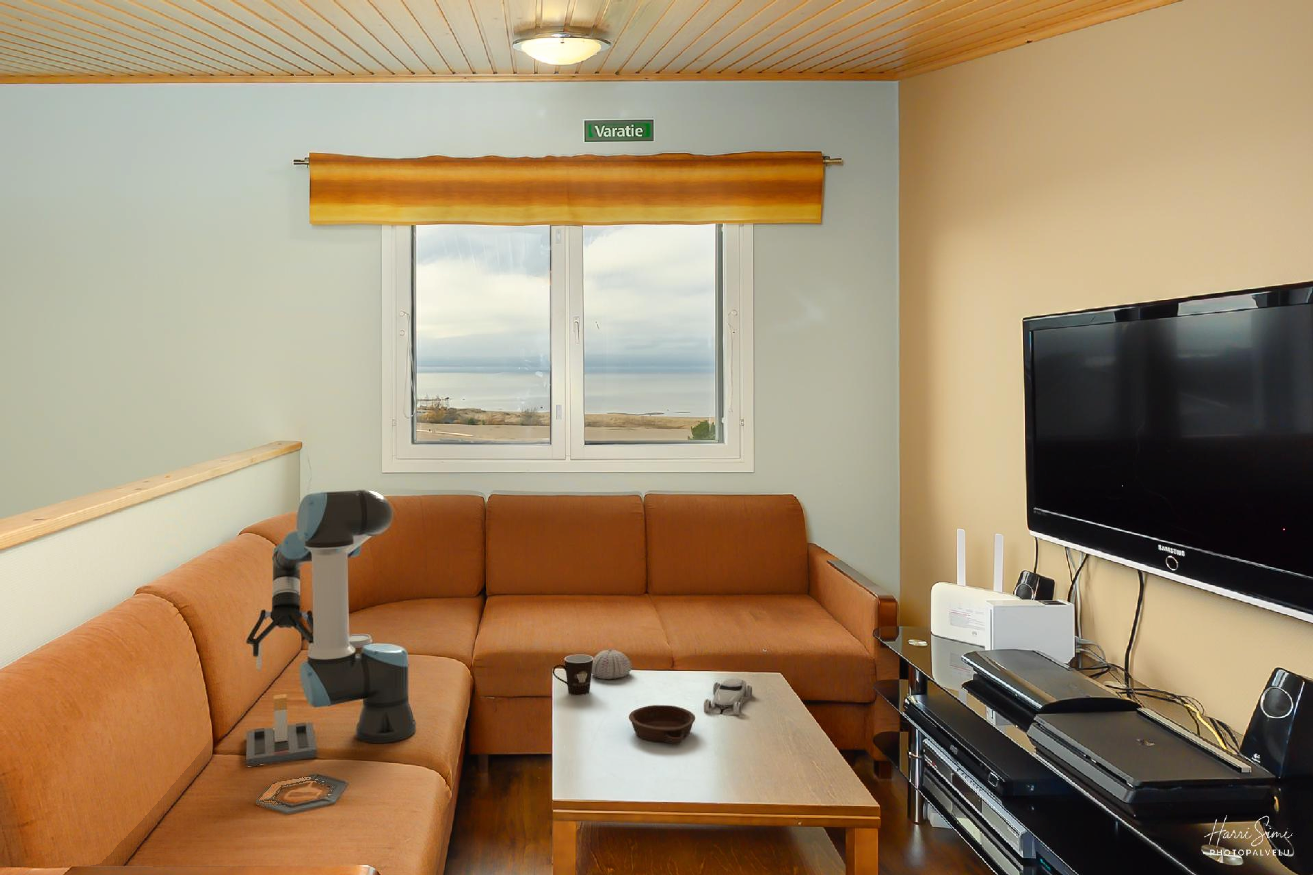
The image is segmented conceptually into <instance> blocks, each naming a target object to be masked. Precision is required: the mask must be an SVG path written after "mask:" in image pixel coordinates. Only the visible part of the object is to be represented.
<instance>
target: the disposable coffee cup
mask: <svg viewBox="0 0 1313 875" xmlns="http://www.w3.org/2000/svg"><path fill="white" fill-rule="evenodd" d="M372 642H373V639H372V637H371V635H370V634H366V633H356V634H349V643H350V645H352V646H353V647H354V648H355V650H356V654H360V653H362V652H361V650H362V647H363V646H365V645H368V644H372Z"/></svg>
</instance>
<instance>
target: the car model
mask: <svg viewBox="0 0 1313 875" xmlns="http://www.w3.org/2000/svg"><path fill="white" fill-rule="evenodd" d="M712 694H713V699H712V700H711V699H710V698H705V699H704V701H703V712H704V713H708V714H710V715H716V716H717V715H721V714H722V715H723V716H726V717H728V716H729V717H730V716H740V714H741V713H742V706H743V704H744V703H745V702H746V701H748V700H749V699H751V698H752V696H753V686H751V685H747V682H746V680H744V679H741V678H733V677H732V678H727V679H724V680H723V681H722V682H721V683H720V682H714V683H713V688H712Z"/></svg>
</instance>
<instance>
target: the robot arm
mask: <svg viewBox="0 0 1313 875" xmlns="http://www.w3.org/2000/svg"><path fill="white" fill-rule="evenodd" d="M296 515H297V516H296V530H293V531H291V532H289V533H287V535H285V537H284V538H283V540H282V541H281V543H279V544H278V545H276V546H275V547H274V548H273V553H272V558H271V559H272V560H271V561H272V590H271V594H272V598H271V611H267V610H266V609H262V610H261V611H260V613H259V616H258V620H257V621H256V623H255V625H254V627H253V628H252V630H251V632H250V634H248V637H247V639H246V641H245V643H246V644H247V645H252V656H253V658H256V670H261V667H262V657H263V656H262V653H263V650H262V649H263V643H262V641H263V640H264V639H265V638H266V637H267V636H268V635H269V634H270V633H271V632H272V631H273V630H275V628H276V627H278V628H281V629H283V628H287V629H291V628H294V629H295V630H296V631H298V632H299V633H300V634H301V636H302V637H303V638H304V639H305V640H306V641H307V642H308V643H309V645H308V651H307V661H303V662H302V663H301V664H300V666H299V677H300V683H301V687H302V690H303V694H304V697H305V699H306V700H307V702H308V704H309V705H310V706H312V707H313V708H322V707H331V706H334V705H340V704H344V703H350V702H354V701H360V700H362V707H361V711H360V715H359V719H358V723H357V724H356V728H355V733H356V734H355V735H356V736H357V737H356V738H357V739H358V740H359V741H362V742H363V743H364V742H365V743H368V744H369V743H370V744H388V743H393V742H399V741H403V740H405V739H407V738H410V737H412V736H413V735H414V734H415V733H416V731H417V729H416V728H417V726H416V725H417V723H416V719H415V718H414V717H415V716H414V713H413V711H412V707H411V704H410V703H409V700H410V699H409V698H410V697H409V696H410V695H409V694H410V693H409V667H410V664H409V657H408V655H409V653H408V651H407V650H406V648H404V647H403V646H400V645H397V644H391V643H378V642H377V643H371V644H368V645H365V646H363V647H362V650H361V652H362V653H360V654H356V650H355V648H354V647H353V646H352V645H350V643H349V635H350V618H349V614H350V613H349V608H350V607H349V571H348V570H349V569H348V568H349V567H348V566H349V565H348V564H349V562H348V559H349V558H354V557H358V556H359V555H360V553H361V550H362V545H363V543H365V542H366V541H368V540H369V539H370V538H372V537H377V536H379V535H381V534H382V533H384V532H385V531H386V530H388V528H390V526H391V524H392V523H393V519H394V511H393V507H392V505H391V503H390V502H389V501H388V499H387V498H386V497H384V496H383V495H382V494H380V493H379V492H375V491H373V490H368V489H357V490H342V491H340V490H339V491H321V492H314V493H313V492H312V493H308V494H306V495H305V496H304V497H303V498H302V499H301V501H300V504H299V506H298V509H297V514H296ZM310 562H311V577H312V578H311V581H312V582H311V584H312V588H311V589H312V610H308V611H305V612H302V610H301V596H300V595H301V567H302V565H303V563H310ZM268 618H270V619H271V620H272V622H271V623H270V624H269V625H268V626H266V627H265V629H264V630H263V631H261V633H260V634H259V635H258V636H256V634H257V633H258V631H259V629H260V628H261V626H262V624H263V622H264V621H266V620H267V619H268ZM301 618H303V620H304V621H306V623H307V626H308V627H309V629H310V630H309V629H308V628H307V627H306V626H305V625H304V624H303V622H302V621H301V620H300V619H301ZM310 631H311V632H310ZM255 636H256V638H255Z"/></svg>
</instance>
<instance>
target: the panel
mask: <svg viewBox="0 0 1313 875" xmlns="http://www.w3.org/2000/svg"><path fill="white" fill-rule="evenodd" d="M287 736H288V740H287V741H280V742H275V737H274V726H273V727H267V728H265V727H259V728H254V729H251V730H250V729H249V730H246V750H245V751H246V755H245V756H246V762H245V764H246V767H247V766H254V767H258V765H260V764H268V765H272V764H271V763H275V764H279V763H278V762H282V763H288V762H294V761H302V760H309V759H316V758H318V749H317V741H316V736H315V731H314V725H313V722H299V723H298V722H297V723H295V724H290V725H287Z"/></svg>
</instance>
